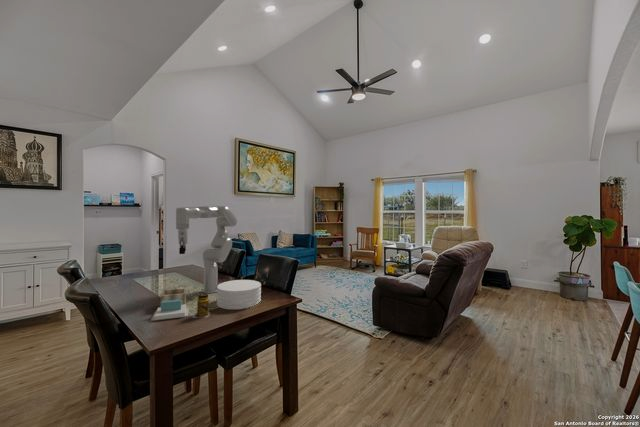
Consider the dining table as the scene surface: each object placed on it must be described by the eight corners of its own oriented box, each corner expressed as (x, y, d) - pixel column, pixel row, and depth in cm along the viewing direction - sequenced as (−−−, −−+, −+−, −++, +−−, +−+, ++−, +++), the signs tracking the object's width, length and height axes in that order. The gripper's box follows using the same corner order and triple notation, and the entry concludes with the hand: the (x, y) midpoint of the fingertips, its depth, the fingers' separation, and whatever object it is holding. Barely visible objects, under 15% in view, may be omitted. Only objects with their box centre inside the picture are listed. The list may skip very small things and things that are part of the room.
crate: (185, 301, 179) (186, 288, 179) (184, 308, 167) (184, 293, 167) (163, 304, 174) (163, 290, 174) (160, 311, 162) (160, 295, 162)
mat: (189, 309, 167) (189, 308, 167) (187, 316, 155) (187, 315, 155) (154, 312, 159) (154, 311, 159) (151, 321, 147) (151, 319, 147)
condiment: (208, 317, 154) (208, 296, 154) (191, 318, 152) (192, 297, 152) (210, 312, 161) (210, 292, 161) (194, 313, 159) (195, 293, 159)
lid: (186, 307, 167) (186, 296, 167) (184, 316, 153) (184, 303, 153) (158, 310, 161) (158, 298, 161) (154, 320, 147) (154, 306, 147)
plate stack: (269, 302, 182) (269, 285, 182) (230, 313, 162) (231, 293, 162) (245, 293, 201) (246, 277, 201) (209, 302, 180) (209, 284, 180)
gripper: (188, 227, 171) (188, 254, 172) (189, 225, 187) (189, 250, 187) (175, 227, 168) (175, 255, 169) (177, 225, 184) (177, 251, 184)
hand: (182, 252), depth 178 cm, fingers open, 9 cm apart
